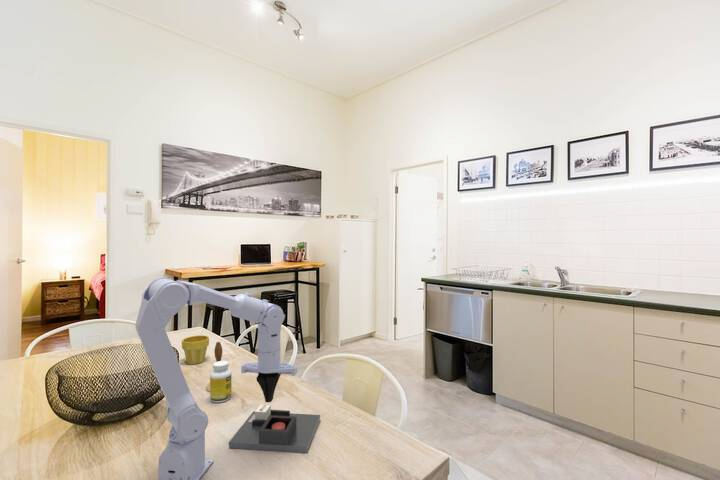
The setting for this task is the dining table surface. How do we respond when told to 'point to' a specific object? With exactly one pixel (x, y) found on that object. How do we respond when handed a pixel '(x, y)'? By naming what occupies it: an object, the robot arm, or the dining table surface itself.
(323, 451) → the dining table surface
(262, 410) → the sliding toggle
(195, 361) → the plant pot
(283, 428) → the button
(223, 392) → the pill bottle
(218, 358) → the hand bell
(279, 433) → the panel
